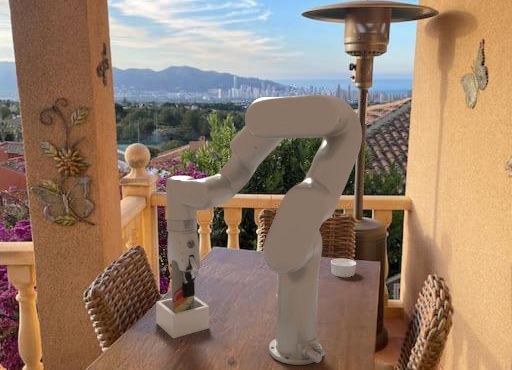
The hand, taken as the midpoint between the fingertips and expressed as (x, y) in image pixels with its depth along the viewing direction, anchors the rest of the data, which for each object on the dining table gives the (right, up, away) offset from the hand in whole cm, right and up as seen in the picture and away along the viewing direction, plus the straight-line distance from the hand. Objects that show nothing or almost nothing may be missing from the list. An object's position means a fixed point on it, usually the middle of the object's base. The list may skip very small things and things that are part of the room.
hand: (182, 292), depth 124 cm
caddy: (0, -9, +2) cm, 9 cm away
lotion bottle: (0, -7, +1) cm, 7 cm away
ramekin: (+49, -4, +43) cm, 66 cm away
